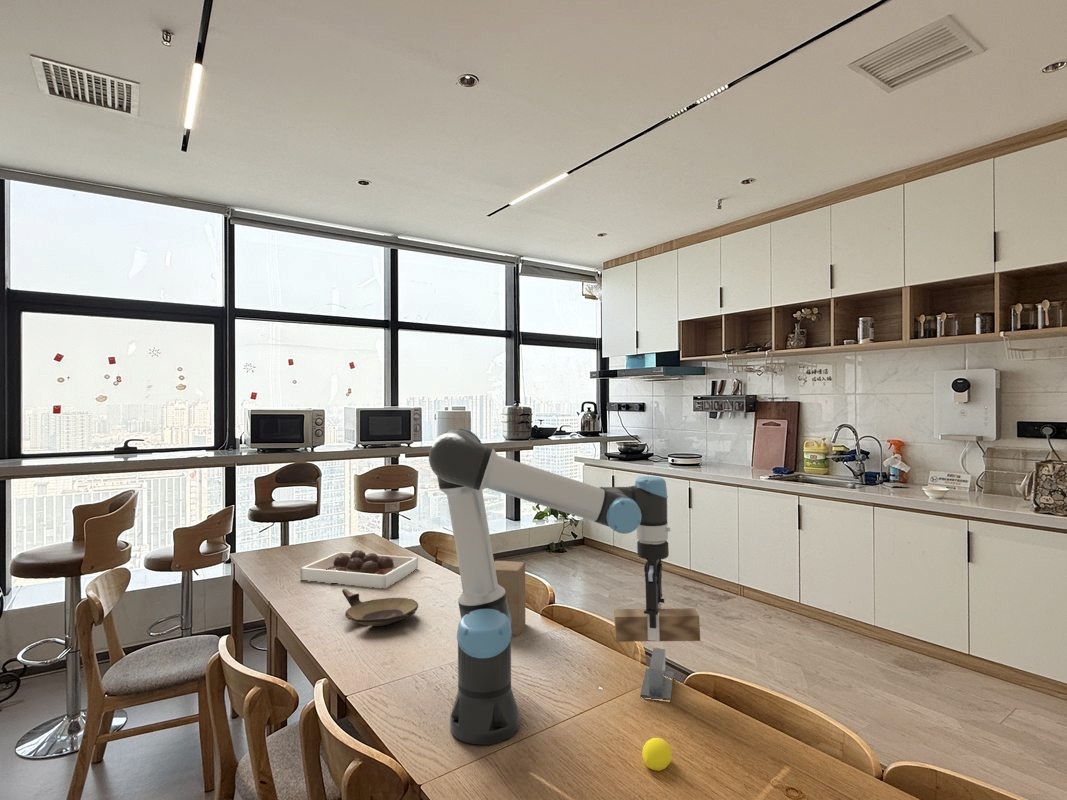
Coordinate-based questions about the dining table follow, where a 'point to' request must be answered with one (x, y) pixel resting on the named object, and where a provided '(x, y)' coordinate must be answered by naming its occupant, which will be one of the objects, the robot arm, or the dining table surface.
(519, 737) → the dining table surface
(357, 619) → the olive brown pan
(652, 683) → the fulcrum
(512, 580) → the wooden block
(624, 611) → the walnut bar
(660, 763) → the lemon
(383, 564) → the chocolate truffle
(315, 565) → the truffle corral
